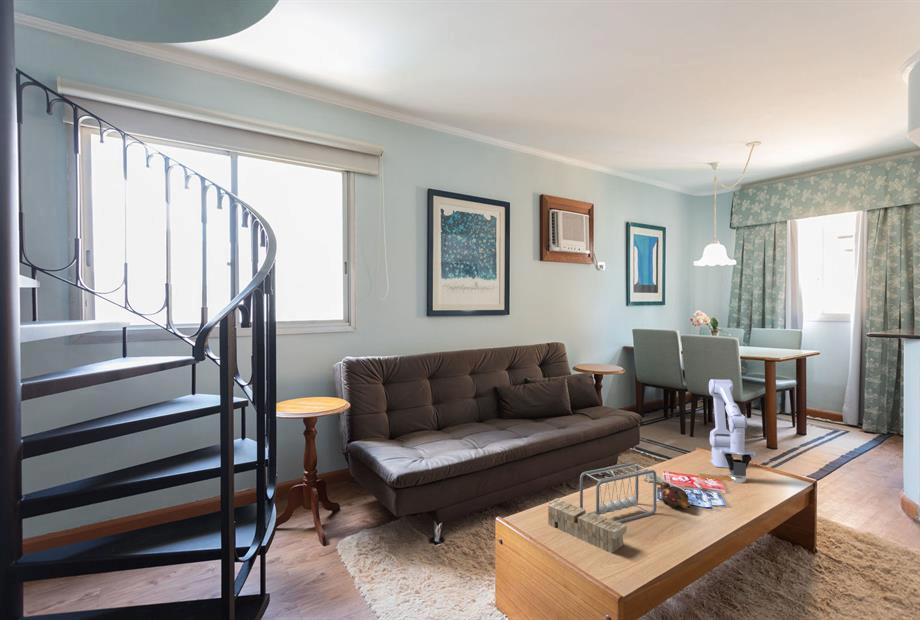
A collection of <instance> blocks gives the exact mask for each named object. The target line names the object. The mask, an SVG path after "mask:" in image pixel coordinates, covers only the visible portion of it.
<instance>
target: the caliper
mask: <svg viewBox="0 0 920 620" xmlns="http://www.w3.org/2000/svg"><path fill="white" fill-rule="evenodd" d="M648 470H649V469H648ZM648 470H647V471H648ZM647 478H648V480H647ZM643 480H644V482H646V481H647V483H650V482H651V481H652V480H653V473H649V474H645V475H643ZM662 482H667V483H669V485H670V486H675V487H678V488H680V489H682V490H683V491H685V492H688V490H687V489H684V488H682V487H680V486H678V485H676V484H674V483H671V482H670V481H667V479H664V478H661V476H659V475H657V474H656V483H660V484H661V483H662Z"/></svg>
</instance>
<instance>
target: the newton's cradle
mask: <svg viewBox="0 0 920 620" xmlns="http://www.w3.org/2000/svg"><path fill="white" fill-rule="evenodd" d="M632 467H635V469H633V468H632ZM630 468H632V470H633V471H634V472H630V471H628V472H627V473H623V471H624V469H630ZM639 468H642V470H639ZM618 470H621V473H620V472H618ZM647 470H648V471H647ZM612 471H613V476H610V477H608V476H607V477H604V478H601V477H600V476H598V478H596V477H594V476H592V475H597V474H598V475H599V474H603V473H606V474H608V473H609V472H612ZM615 472H618V475H616V474H615ZM649 473H653V479H652V481H653V484H652V485H653V486H652V487H653V489H652V490H653V491H652V493H653V494H652V495H653V496H652V497H653V499H652V500H653V501H652V503H653V505H652V510H651V511H650V510H648V509H646V508H644V507H642V506H641V505H639V476H644V475H645V474H649ZM656 475H657V472H656V471H655V470H654V469H648V468H647V467H644V466H641V465H639V464H638V463H637V462H635V461H633V462H628V463H622V464H618V465H612V466H607V467H603V468H598V469H593V470H592V469H591V470H588V471H583V472H582V473H581V474H580V476H579V508H582V509H584V482H583V481H584V477H585V476H589V477H590V478H592V479H593V480H596V481H598V482H597V483H596V486H595V489H596V490H595V493H596V495H595V500H596V501H595V507H596V508H595V509H596V510H594V511H590V512H586V514H589V515H590V514H592V513H596V514H598V515H600V514H601V515H606V513H608V512H609V513H613V512H615V511H621V510H623V509H630V507H636V506H637V507H639V508H640V509H643V511H646V512H644V513H640V514H635V515H633V516H632V515H631V516H629V517H625V518H621V519H618V520H615V521H616V522H620V523H622V524H623V523H625V522H629V521H632V520H637V519H641V518H645V517H648V516H652V515H654V514H655V513H656V511H657V482H656ZM631 478H635V481H634V482H635V485H634V492H633V491H632V487H630V484H632V482H631ZM626 479H628V482H629V484H628V485H627V488H629V487H630V490H631V492H633V494H631V496H629V498H628V496H625V497H624V498H622V499H621V500H620V498H621V495H619V497H618V495H616V497H617V499H616V500H614V502H613V500H609V501H607V502H606V504H605V503H604V502H605V500H603V499H605V498H606V494H604V498H603V499H602V496H600V492H602V489H601V485H602V484H605V487H607V486H608V490H610V488H609V487H610V486H609V485H608V483H612V482H614V483H613V485H617V483H616V482H617V481H620V480H621V481H624V480H626ZM620 487H623V488H625V484H624V483H623V482H621V485H620ZM614 488H615V489H616V492H618V490H617V487H613V488H612V492H614V491H615V490H614ZM606 491H607V489H605V491H604V493H606ZM621 492H622V489H620V490H619V494H621ZM628 492H629V490H627V493H626V492H625V490H623V493H624V495H628ZM608 496H609V498H613V496H614V494H612V495H611V493H608ZM600 498H601V503H600Z"/></svg>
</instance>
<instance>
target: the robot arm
mask: <svg viewBox="0 0 920 620" xmlns="http://www.w3.org/2000/svg"><path fill="white" fill-rule="evenodd" d="M733 390H734V383H733V381H732V380H731V379H714V378H712V379H710V380H709V382H708V391H709V395H710V396H712V398H713V410H714V423H715V428H713V429H711V430H710V432H709V445H711V459H709V462H710V463H711V464H712V465H713V466H714V467H715V468H727V469H728V468H729V469H730V470H732V468H733V466H732V463H733V459H734V457H733V456H736V455H737V456H741V460H743V461H744V462H745V463H746V470H747V468H748V465H749V464H750V462H751V461H752V457H756V452H755V450H748V449H745V446H746V445H745V443H746V441H745V439H746V434H745V432H746V431H745V430H746V429H747V428H748V421H747V417H746V416H745V415H744V414H742V412H741V410H740V407H739V405H738V404H737V403H736V402H735V400H734V398H733V397H734V395H733V394H732V393H733ZM726 414H727V416H728V420H726ZM727 421H728V422H727ZM727 423H728V428H729V429H727ZM729 469H728V470H729Z"/></svg>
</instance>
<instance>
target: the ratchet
mask: <svg viewBox="0 0 920 620" xmlns="http://www.w3.org/2000/svg"><path fill="white" fill-rule="evenodd" d="M697 475H698V476H699V477H700V478H708V479H707V480H709V479H719V480H718V481H723V480H725V481H724V482H726V480H727V482H733V481H734V482H733V483H736V482H737V484H745V482H746V483H747V476H735V475H733V474H732V473H728V475H727V474H726V475H723V474H711V473H710V474H709V473H698V474H697ZM699 477H698V478H699ZM700 478H699V479H700Z"/></svg>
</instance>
